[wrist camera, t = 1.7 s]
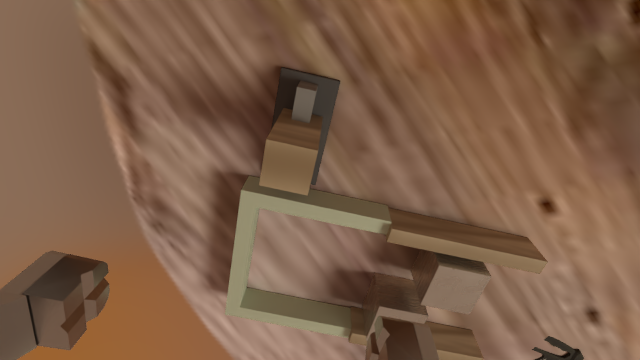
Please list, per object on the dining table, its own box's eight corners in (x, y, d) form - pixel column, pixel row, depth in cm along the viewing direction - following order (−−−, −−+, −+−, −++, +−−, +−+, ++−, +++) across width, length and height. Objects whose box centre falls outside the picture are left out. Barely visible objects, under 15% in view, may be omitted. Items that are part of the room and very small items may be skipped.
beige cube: (374, 271, 31) (379, 306, 27) (417, 280, 31) (428, 315, 27) (362, 303, 32) (365, 340, 29) (403, 311, 33) (411, 348, 29)
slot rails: (386, 207, 27) (391, 228, 25) (527, 237, 28) (547, 261, 25) (347, 315, 33) (348, 342, 30) (466, 338, 34) (478, 367, 31)
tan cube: (426, 233, 29) (439, 265, 25) (472, 243, 29) (491, 276, 25) (410, 269, 30) (420, 304, 27) (453, 278, 31) (469, 314, 27)
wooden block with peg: (288, 77, 23) (272, 100, 17) (329, 87, 23) (327, 112, 17) (272, 170, 26) (254, 215, 20) (308, 178, 26) (300, 225, 20)
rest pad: (282, 67, 23) (281, 68, 23) (340, 80, 23) (340, 81, 23) (265, 172, 27) (264, 174, 26) (315, 182, 27) (315, 185, 26)
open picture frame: (248, 175, 27) (241, 189, 25) (387, 205, 27) (391, 221, 25) (232, 294, 32) (224, 314, 30) (347, 316, 33) (348, 338, 31)
